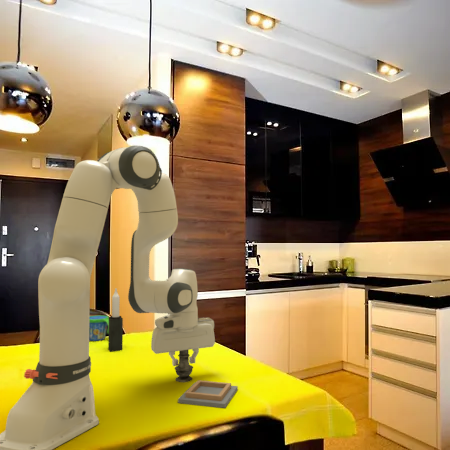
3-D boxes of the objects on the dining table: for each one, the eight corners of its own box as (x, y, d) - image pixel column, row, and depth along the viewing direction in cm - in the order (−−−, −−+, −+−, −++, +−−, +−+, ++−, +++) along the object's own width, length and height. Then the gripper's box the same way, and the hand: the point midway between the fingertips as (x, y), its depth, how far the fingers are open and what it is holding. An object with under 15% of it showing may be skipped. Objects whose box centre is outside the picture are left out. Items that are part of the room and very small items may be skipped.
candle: (107, 349, 154) (108, 288, 156) (120, 347, 157) (120, 287, 159) (110, 351, 150) (110, 289, 152) (122, 350, 152) (123, 288, 154)
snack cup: (117, 339, 172) (117, 316, 173) (99, 344, 163) (99, 320, 164) (93, 335, 180) (94, 314, 180) (75, 340, 171) (75, 317, 171)
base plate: (225, 408, 95) (225, 399, 95) (178, 402, 99) (177, 394, 99) (237, 389, 108) (237, 381, 108) (195, 385, 111) (195, 378, 111)
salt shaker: (190, 383, 114) (190, 342, 115) (171, 381, 115) (171, 342, 116) (195, 376, 119) (195, 338, 120) (178, 375, 121) (178, 337, 121)
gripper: (210, 315, 126) (210, 357, 125) (150, 320, 117) (149, 365, 116) (217, 318, 120) (218, 362, 119) (155, 324, 111) (154, 371, 110)
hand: (183, 364), depth 117 cm, fingers open, 4 cm apart
